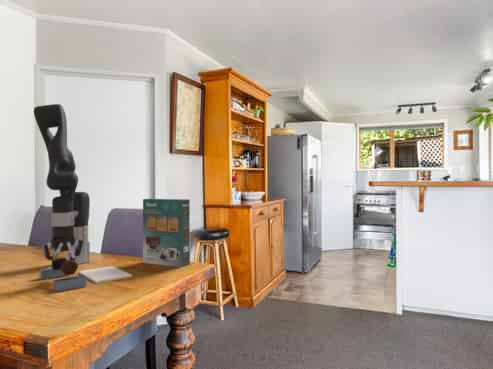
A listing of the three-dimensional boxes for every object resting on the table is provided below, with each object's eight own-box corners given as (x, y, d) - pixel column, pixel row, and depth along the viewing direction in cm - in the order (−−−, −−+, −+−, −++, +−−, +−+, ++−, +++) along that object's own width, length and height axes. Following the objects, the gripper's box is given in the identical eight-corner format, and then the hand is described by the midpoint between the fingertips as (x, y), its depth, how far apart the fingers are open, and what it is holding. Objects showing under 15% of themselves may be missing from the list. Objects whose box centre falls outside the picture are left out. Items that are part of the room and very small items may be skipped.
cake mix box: (189, 264, 164) (189, 199, 164) (182, 267, 159) (182, 199, 159) (151, 260, 173) (151, 198, 173) (143, 262, 168) (143, 199, 168)
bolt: (60, 271, 141) (72, 277, 130) (47, 266, 138) (59, 273, 127) (67, 257, 143) (80, 262, 132) (55, 252, 140) (67, 257, 129)
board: (112, 267, 157) (112, 266, 157) (131, 276, 142) (131, 274, 142) (78, 273, 148) (78, 271, 148) (95, 283, 133) (95, 281, 133)
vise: (62, 271, 151) (62, 263, 151) (86, 286, 129) (86, 276, 129) (36, 275, 145) (36, 266, 145) (55, 292, 122) (55, 282, 122)
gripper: (79, 221, 142) (80, 264, 143) (39, 224, 133) (39, 270, 133) (86, 223, 137) (86, 267, 137) (44, 227, 127) (44, 274, 127)
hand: (63, 268), depth 135 cm, fingers closed on bolt, 5 cm apart
